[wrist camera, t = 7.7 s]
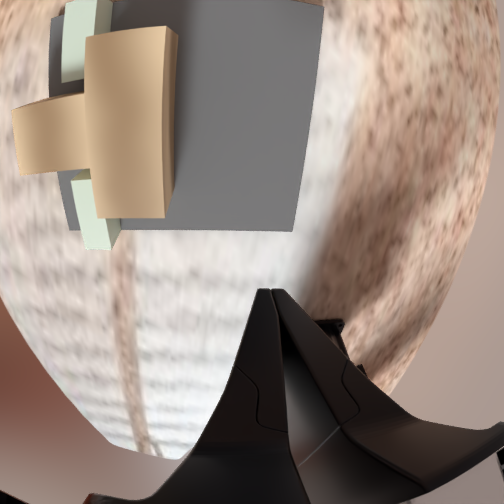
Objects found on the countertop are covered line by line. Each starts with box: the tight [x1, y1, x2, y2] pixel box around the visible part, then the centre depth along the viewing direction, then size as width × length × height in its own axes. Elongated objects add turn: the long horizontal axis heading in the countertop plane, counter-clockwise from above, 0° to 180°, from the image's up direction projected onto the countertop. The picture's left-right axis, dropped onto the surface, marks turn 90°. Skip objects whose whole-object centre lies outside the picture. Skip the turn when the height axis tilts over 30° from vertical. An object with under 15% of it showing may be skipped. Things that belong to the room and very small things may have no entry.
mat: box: [49, 0, 324, 232], centre depth 16 cm, size 17×16×1 cm
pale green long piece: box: [61, 0, 121, 250], centre depth 14 cm, size 2×16×2 cm, turn 175°
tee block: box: [11, 26, 178, 219], centre depth 13 cm, size 9×10×4 cm
